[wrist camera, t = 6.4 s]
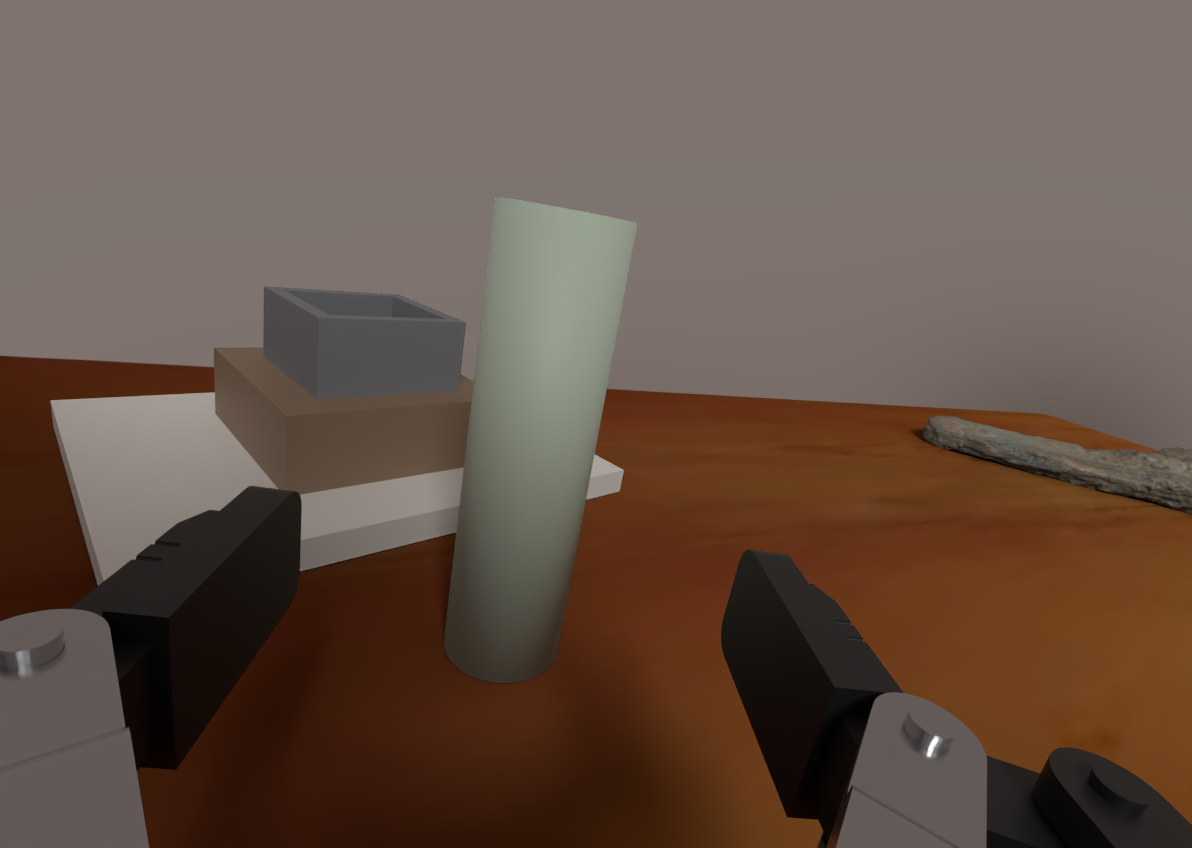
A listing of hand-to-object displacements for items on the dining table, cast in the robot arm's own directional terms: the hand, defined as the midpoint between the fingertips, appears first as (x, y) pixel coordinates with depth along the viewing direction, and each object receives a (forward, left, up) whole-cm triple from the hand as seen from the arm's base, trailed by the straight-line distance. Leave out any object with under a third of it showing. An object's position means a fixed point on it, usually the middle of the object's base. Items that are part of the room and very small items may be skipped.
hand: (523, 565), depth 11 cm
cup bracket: (+8, +26, -10) cm, 29 cm away
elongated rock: (+75, -4, -10) cm, 76 cm away
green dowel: (+6, +8, -10) cm, 14 cm away
